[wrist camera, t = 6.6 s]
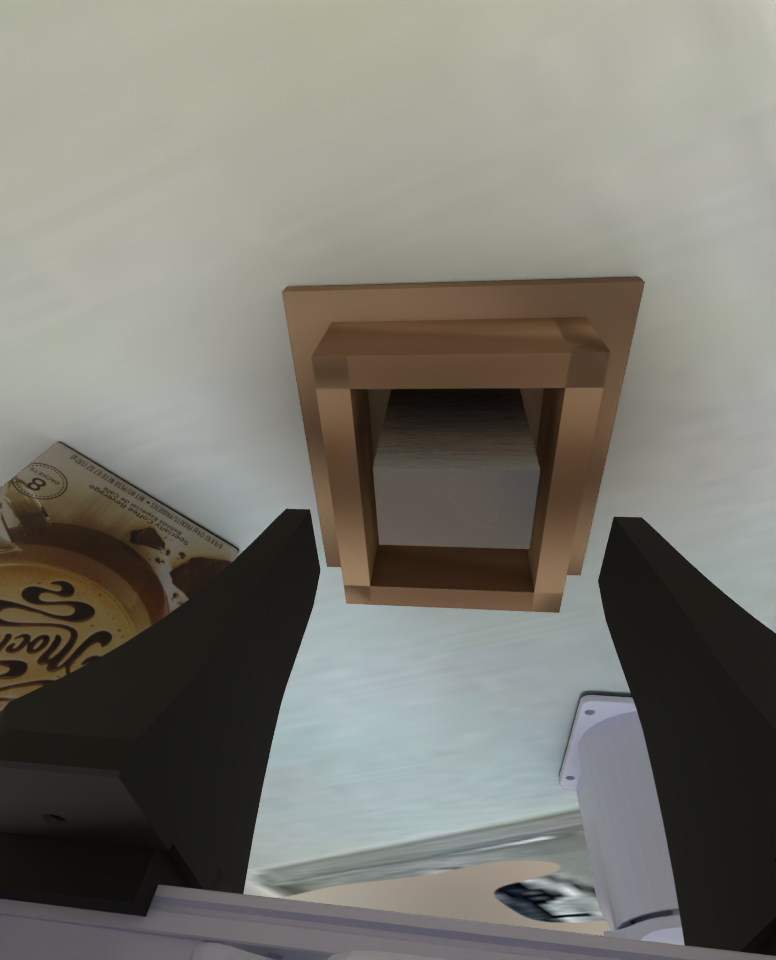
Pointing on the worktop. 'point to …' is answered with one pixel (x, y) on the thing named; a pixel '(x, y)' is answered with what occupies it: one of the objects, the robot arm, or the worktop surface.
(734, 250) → the worktop surface
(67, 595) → the coffee box
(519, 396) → the brushed steel block
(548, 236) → the worktop surface
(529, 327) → the tray
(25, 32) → the worktop surface
